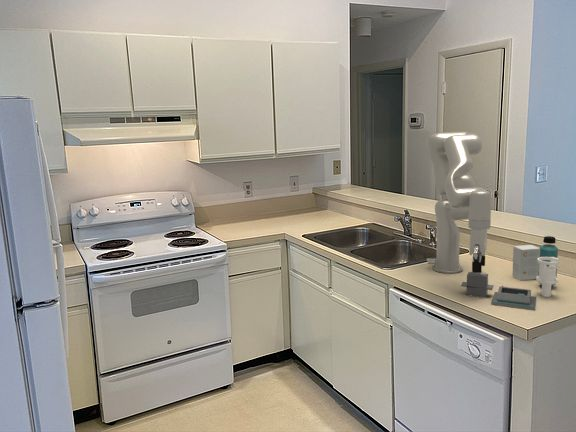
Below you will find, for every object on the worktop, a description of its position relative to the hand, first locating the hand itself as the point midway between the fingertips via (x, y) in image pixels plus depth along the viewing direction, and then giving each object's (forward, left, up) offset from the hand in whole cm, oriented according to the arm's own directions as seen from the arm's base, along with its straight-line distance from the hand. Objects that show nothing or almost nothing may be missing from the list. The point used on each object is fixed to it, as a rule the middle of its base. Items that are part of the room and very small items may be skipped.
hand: (478, 268), depth 183 cm
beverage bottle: (+23, +19, -11) cm, 31 cm away
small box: (+15, +28, -11) cm, 33 cm away
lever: (0, +1, -10) cm, 10 cm away
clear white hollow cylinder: (+23, +9, -11) cm, 26 cm away
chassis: (+13, -2, -10) cm, 16 cm away
